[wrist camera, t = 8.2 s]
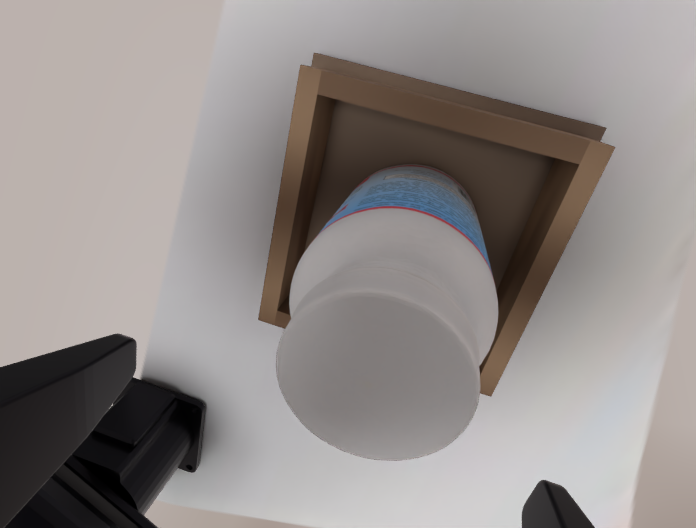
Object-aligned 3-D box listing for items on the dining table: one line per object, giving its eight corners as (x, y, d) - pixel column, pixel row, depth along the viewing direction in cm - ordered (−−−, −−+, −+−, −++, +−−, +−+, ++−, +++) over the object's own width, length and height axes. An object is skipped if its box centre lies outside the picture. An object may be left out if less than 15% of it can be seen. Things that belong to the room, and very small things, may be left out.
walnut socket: (489, 358, 22) (497, 408, 19) (276, 290, 23) (246, 325, 20) (599, 126, 17) (638, 136, 13) (319, 53, 18) (289, 45, 15)
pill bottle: (340, 162, 19) (221, 251, 9) (482, 159, 18) (537, 260, 7) (347, 284, 21) (260, 467, 11) (473, 290, 20) (505, 502, 10)
